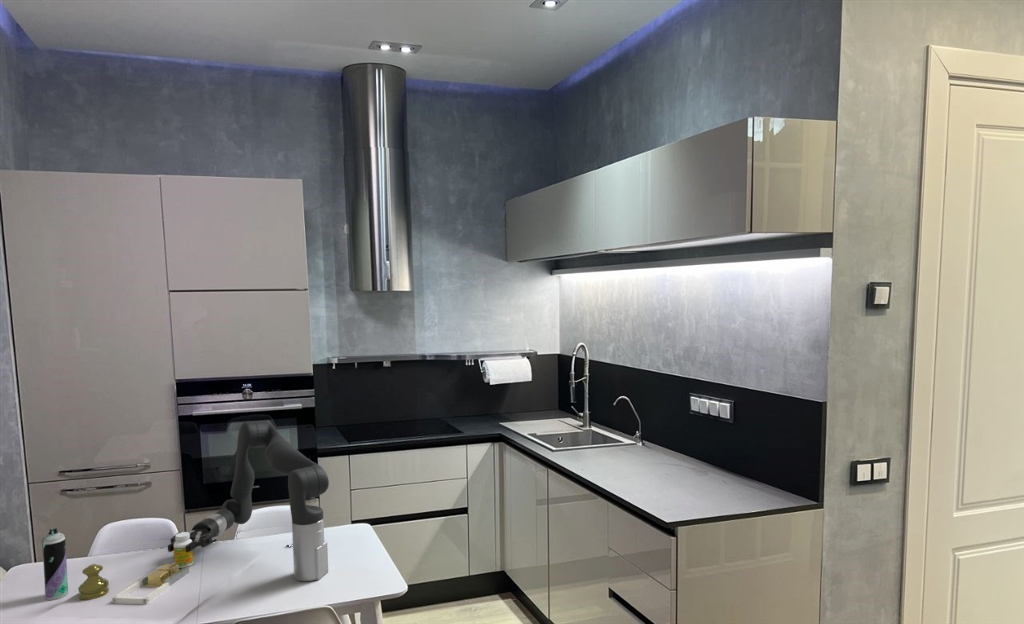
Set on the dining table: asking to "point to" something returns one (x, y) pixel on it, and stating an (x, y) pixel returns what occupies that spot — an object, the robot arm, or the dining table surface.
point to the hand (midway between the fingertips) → (178, 549)
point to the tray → (123, 599)
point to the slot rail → (170, 580)
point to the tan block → (158, 577)
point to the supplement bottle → (182, 550)
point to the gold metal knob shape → (93, 584)
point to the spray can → (55, 565)
